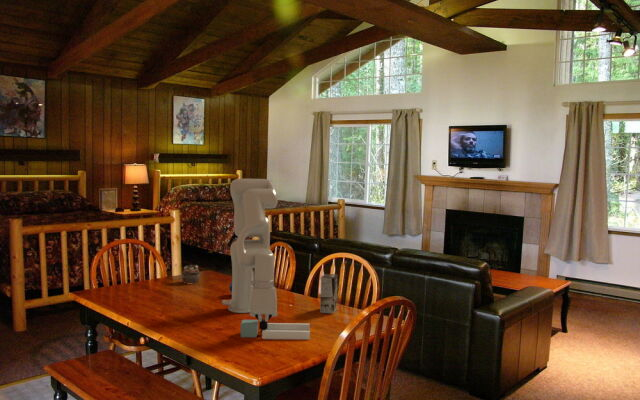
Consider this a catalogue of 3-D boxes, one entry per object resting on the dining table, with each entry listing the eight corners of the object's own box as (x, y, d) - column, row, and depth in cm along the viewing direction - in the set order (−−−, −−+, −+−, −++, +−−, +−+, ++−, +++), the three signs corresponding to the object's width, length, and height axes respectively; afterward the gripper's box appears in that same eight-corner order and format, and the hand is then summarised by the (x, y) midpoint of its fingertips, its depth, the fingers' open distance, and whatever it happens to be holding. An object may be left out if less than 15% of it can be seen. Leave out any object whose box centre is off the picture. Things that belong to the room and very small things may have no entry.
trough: (262, 338, 205) (262, 331, 205) (264, 330, 215) (264, 323, 215) (309, 339, 206) (310, 331, 205) (309, 330, 216) (309, 323, 216)
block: (240, 337, 207) (240, 324, 206) (242, 332, 212) (242, 319, 212) (256, 337, 207) (256, 324, 206) (257, 332, 213) (257, 319, 212)
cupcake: (202, 281, 299) (202, 263, 298) (194, 285, 290) (194, 266, 289) (186, 280, 301) (186, 262, 301) (178, 284, 292) (178, 265, 291)
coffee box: (333, 314, 241) (334, 278, 240) (319, 312, 242) (320, 277, 241) (337, 308, 250) (338, 274, 249) (323, 307, 251) (324, 273, 250)
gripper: (243, 286, 205) (243, 333, 206) (283, 286, 205) (282, 334, 207) (245, 281, 212) (245, 327, 213) (283, 282, 213) (283, 328, 214)
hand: (263, 330), depth 210 cm, fingers closed
